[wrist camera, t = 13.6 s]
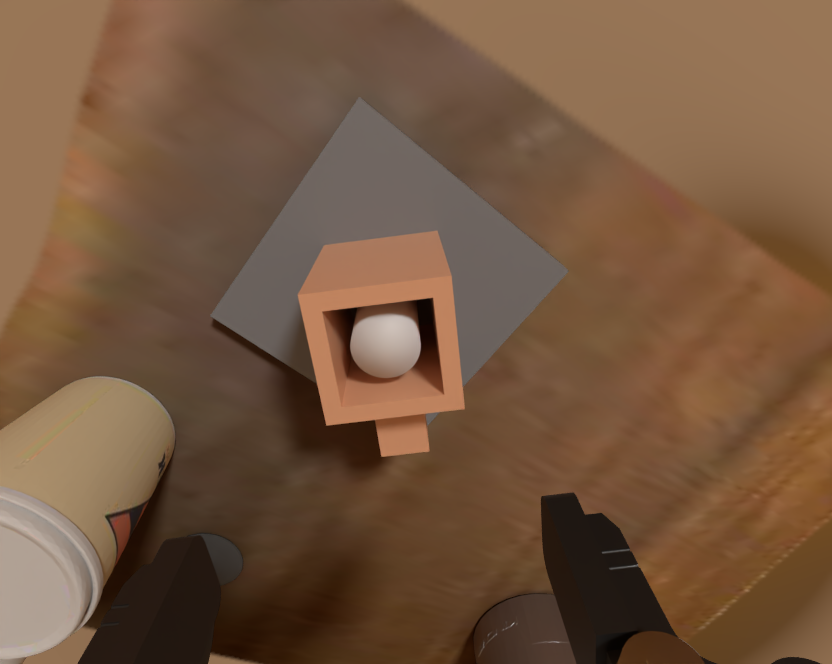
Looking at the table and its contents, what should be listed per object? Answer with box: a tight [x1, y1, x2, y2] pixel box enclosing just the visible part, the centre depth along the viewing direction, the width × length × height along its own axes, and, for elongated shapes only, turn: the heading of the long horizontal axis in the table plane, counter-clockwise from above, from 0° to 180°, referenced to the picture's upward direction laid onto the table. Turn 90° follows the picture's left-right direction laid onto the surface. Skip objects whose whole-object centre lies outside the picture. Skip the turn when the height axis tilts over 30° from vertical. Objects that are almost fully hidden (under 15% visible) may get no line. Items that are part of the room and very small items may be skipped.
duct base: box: [210, 97, 569, 426], centre depth 27 cm, size 14×14×8 cm
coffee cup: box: [0, 376, 175, 659], centre depth 28 cm, size 9×9×12 cm
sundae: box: [187, 533, 243, 664], centre depth 31 cm, size 7×7×15 cm
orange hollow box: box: [298, 231, 465, 457], centre depth 26 cm, size 6×10×8 cm, turn 7°
